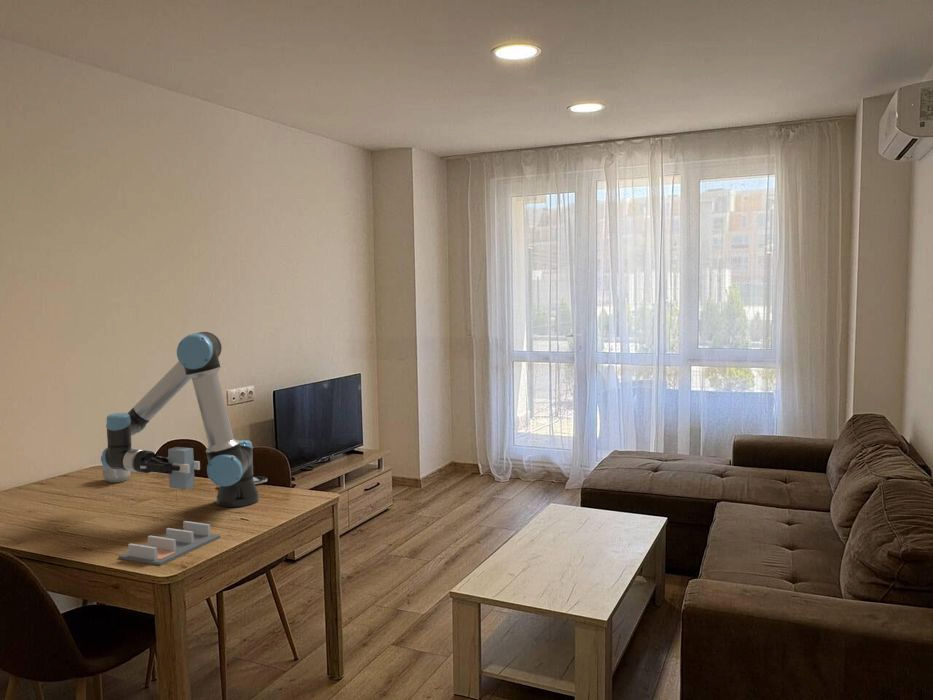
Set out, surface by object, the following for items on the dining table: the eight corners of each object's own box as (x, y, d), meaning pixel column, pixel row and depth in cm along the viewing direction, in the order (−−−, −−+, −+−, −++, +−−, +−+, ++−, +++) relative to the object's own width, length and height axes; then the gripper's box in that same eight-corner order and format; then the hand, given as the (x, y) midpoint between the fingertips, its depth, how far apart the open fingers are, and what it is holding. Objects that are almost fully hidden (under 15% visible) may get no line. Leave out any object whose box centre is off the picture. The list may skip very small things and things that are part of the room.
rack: (180, 531, 239) (180, 519, 239) (220, 537, 233) (219, 524, 233) (118, 558, 216) (118, 544, 216) (160, 565, 210) (159, 550, 210)
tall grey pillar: (178, 484, 248) (177, 446, 247) (194, 486, 245) (193, 448, 244) (169, 487, 244) (168, 449, 243) (185, 489, 241) (184, 450, 240)
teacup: (108, 478, 310) (107, 459, 309) (135, 477, 311) (134, 458, 310) (96, 486, 296) (94, 467, 295) (124, 485, 297) (123, 466, 296)
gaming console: (222, 492, 287) (222, 486, 287) (215, 487, 294) (215, 481, 294) (270, 484, 298) (270, 478, 298) (262, 479, 306) (261, 473, 305)
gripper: (160, 466, 259) (212, 472, 250) (121, 477, 243) (174, 484, 234) (159, 445, 258) (211, 450, 249) (119, 455, 243) (173, 461, 234)
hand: (193, 467), depth 242 cm, fingers closed on tall grey pillar, 4 cm apart
